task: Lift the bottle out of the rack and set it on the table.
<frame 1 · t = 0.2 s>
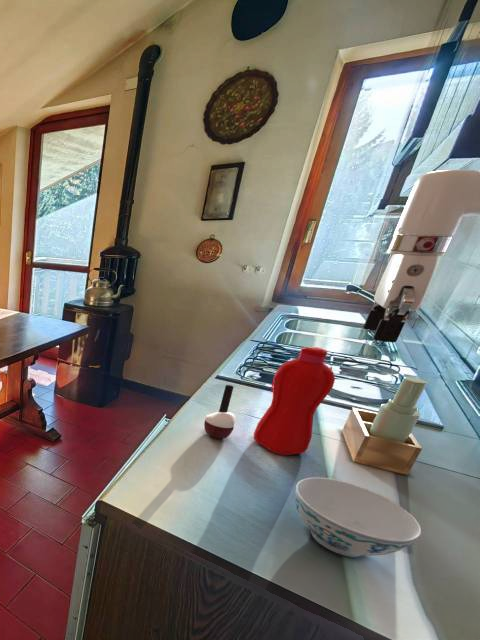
hand: (378, 335, 79), 29 cm above the counter, tool pointing down, fingers open, 9 cm apart
chinaware: (335, 542, 67), on the counter
red plastic tall container: (274, 445, 95), on the counter
rack: (371, 451, 92), on the counter
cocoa: (216, 435, 99), on the counter
bottle: (376, 456, 89), point 1 cm above the counter, touching rack
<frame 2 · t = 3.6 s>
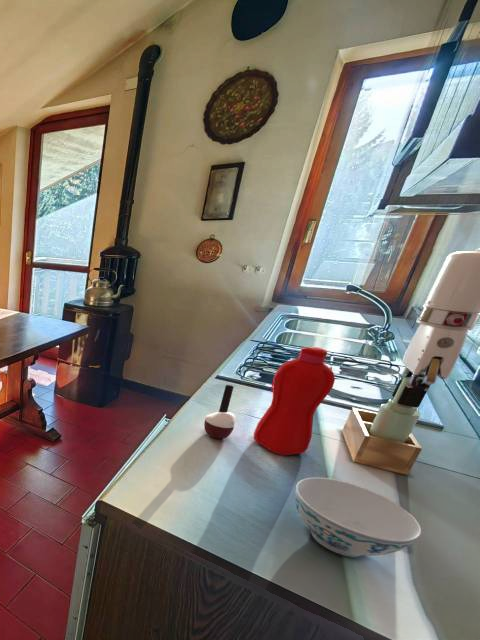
hand: (404, 401, 83), 15 cm above the counter, tool pointing down, fingers closed on bottle, 3 cm apart
bottle: (376, 456, 89), point 1 cm above the counter, touching gripper, rack
everything else where it was.
when the fingers open (14 cm above the counter, at t = 10.6 s): bottle stays where it is, on the counter.
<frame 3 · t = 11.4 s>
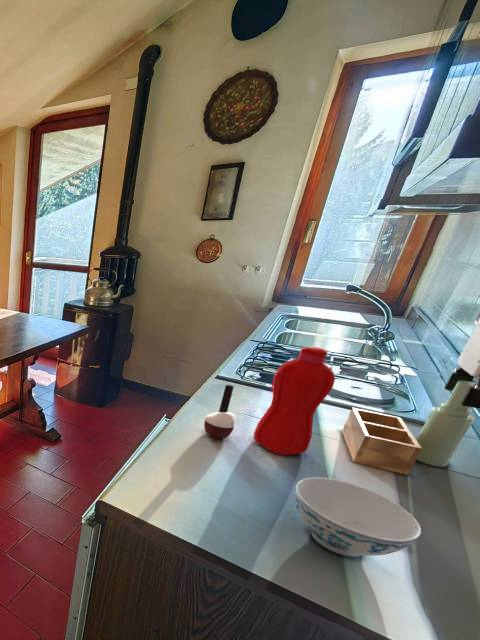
hand: (463, 398, 83), 16 cm above the counter, tool pointing down, fingers open, 9 cm apart
bottle: (427, 459, 90), on the counter
everything else where it was.
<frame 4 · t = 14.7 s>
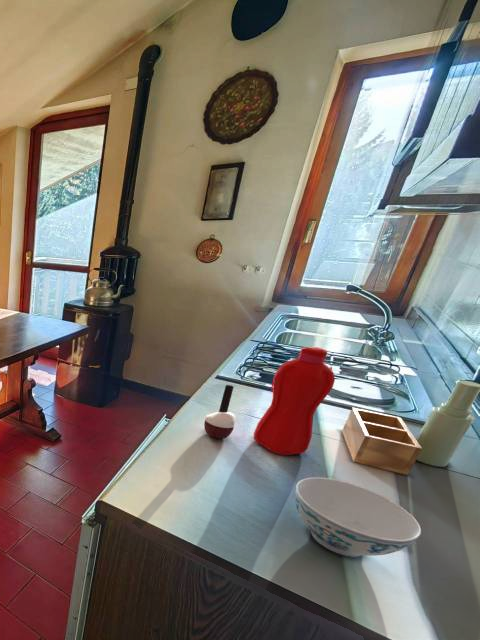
nothing on the counter moved.
at the end: bottle inside the target area (0.1 cm from its centre), on the counter; bottle tilted 0°; bottle touching counter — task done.
